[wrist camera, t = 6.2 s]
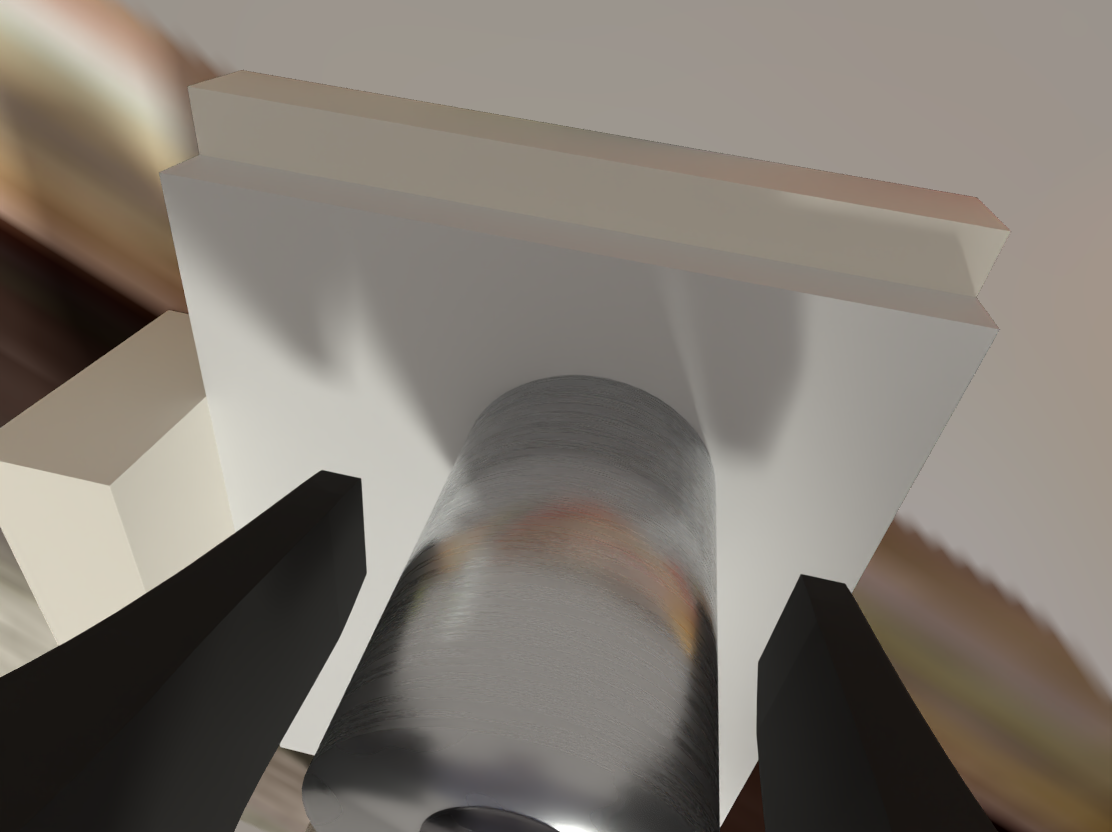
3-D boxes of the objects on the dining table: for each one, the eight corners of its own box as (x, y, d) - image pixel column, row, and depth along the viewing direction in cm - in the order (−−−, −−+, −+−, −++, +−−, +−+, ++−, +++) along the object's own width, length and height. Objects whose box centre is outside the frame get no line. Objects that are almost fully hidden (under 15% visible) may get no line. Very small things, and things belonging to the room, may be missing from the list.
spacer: (663, 600, 13) (636, 984, 9) (445, 530, 13) (292, 874, 9) (759, 426, 11) (801, 834, 6) (489, 339, 11) (308, 676, 6)
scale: (977, 197, 11) (1138, 358, 7) (698, 779, 21) (694, 979, 17) (81, 42, 12) (-244, 100, 8) (237, 668, 22) (133, 830, 18)
